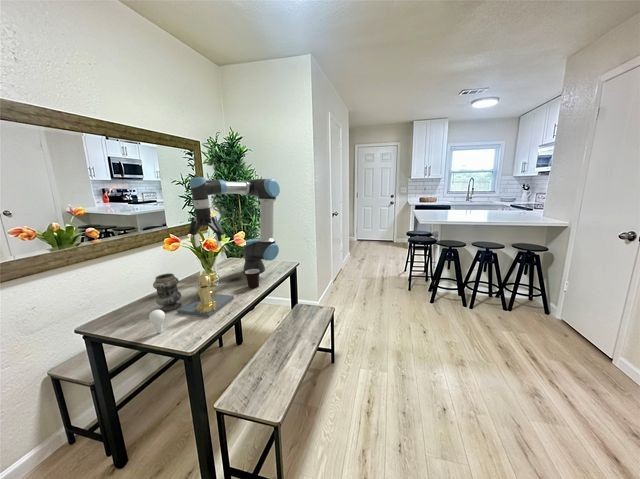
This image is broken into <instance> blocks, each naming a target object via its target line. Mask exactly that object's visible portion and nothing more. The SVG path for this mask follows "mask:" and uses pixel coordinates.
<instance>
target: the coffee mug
mask: <svg viewBox="0 0 640 479" xmlns="http://www.w3.org/2000/svg"><path fill="white" fill-rule="evenodd" d="M244 274H245V277H246V282H247V286H248V289H251V290H253V289H257V288H259V287H260V273H259V270H258V269H250V270H247V271H245V273H244Z"/></svg>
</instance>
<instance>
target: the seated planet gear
mask: <svg viewBox="0 0 640 479" xmlns="http://www.w3.org/2000/svg"><path fill="white" fill-rule="evenodd" d="M198 281H199V282H198V283H199V287H200V286H202V285H209V286H211V284H210V278H209V275H208V274H200V275H199V276H198ZM210 293H211V297H214V295H215V294H216V292H215V289H212V288H211V287H210ZM196 296H197V297H196V298H199V299H200V295H199V290H198V292H196Z"/></svg>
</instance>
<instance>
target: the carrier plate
mask: <svg viewBox="0 0 640 479" xmlns="http://www.w3.org/2000/svg"><path fill="white" fill-rule="evenodd" d="M234 296H235V295H230V294H220V293H215V295H214V297H211V300H213V301H216V306H217V307H215V310H213V311H211V312H209V313H200V312H198V311H197V305H198V303H200V299H199V298H197V297H196V298H194V299H193V300H191V301H190V302H187V303H186V304H184V305H183V306H180V307H179V308H178V309H176V311H177V314H178V315H179V314H180V315H186V316H187V315H188V316H192V317H193V316H194V317H201V318H207V319H209V318H211V317H212V316H214V315H215V314H216V313H218V312H219V311H220V310H221V309H223V308H224V307H226V306H227V305H228V304H229V303H231V302H232V301H234V299H235V298H234Z"/></svg>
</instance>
